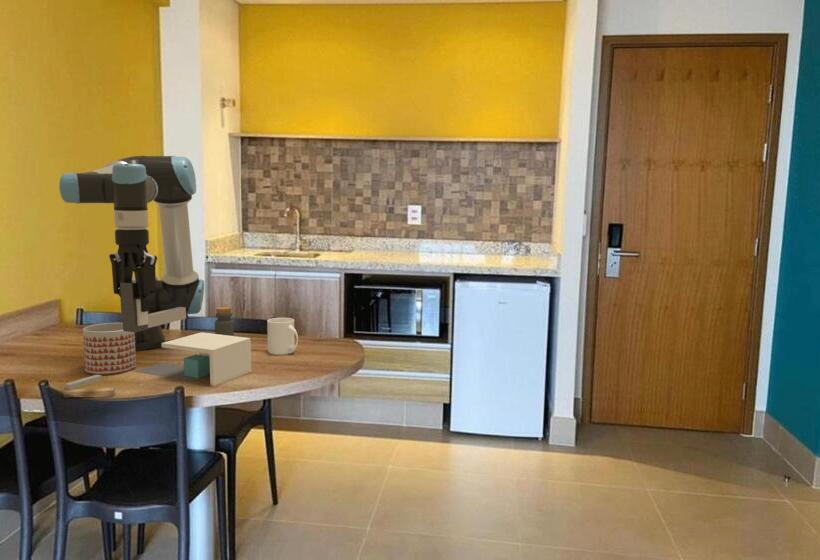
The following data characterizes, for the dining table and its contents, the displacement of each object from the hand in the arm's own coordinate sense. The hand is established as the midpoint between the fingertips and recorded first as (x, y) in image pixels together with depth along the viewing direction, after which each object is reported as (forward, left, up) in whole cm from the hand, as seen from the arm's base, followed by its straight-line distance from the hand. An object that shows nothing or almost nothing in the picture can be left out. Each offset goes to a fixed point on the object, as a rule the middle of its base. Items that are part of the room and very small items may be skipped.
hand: (135, 323), depth 162 cm
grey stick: (-25, +5, -20) cm, 32 cm away
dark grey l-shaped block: (0, +7, -1) cm, 7 cm away
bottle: (-14, +49, -20) cm, 54 cm away
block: (-3, +24, -19) cm, 31 cm away
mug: (+3, +58, -20) cm, 61 cm away
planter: (-31, +19, -20) cm, 41 cm away
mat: (-11, +24, -20) cm, 33 cm away
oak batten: (-15, -2, -20) cm, 25 cm away
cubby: (-1, +26, -20) cm, 32 cm away
